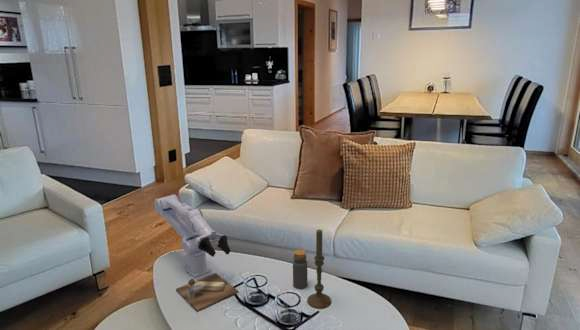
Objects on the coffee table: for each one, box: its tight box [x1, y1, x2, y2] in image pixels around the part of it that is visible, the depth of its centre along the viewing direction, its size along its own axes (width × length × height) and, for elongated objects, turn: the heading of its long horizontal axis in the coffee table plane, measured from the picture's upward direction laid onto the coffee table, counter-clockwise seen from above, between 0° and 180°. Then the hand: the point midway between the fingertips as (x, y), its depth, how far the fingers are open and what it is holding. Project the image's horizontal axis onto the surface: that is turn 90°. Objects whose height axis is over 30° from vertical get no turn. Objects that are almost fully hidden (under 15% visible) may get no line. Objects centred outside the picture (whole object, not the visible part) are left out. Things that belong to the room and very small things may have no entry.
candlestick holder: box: [306, 229, 332, 310], centre depth 144 cm, size 9×9×30 cm
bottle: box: [292, 248, 308, 290], centre depth 157 cm, size 6×6×15 cm
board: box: [175, 272, 239, 313], centre depth 155 cm, size 18×18×1 cm
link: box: [187, 278, 225, 291], centre depth 155 cm, size 14×3×3 cm, turn 85°
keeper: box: [186, 284, 204, 300], centre depth 150 cm, size 3×6×4 cm, turn 125°
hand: (221, 253), depth 152 cm, fingers open, 7 cm apart
